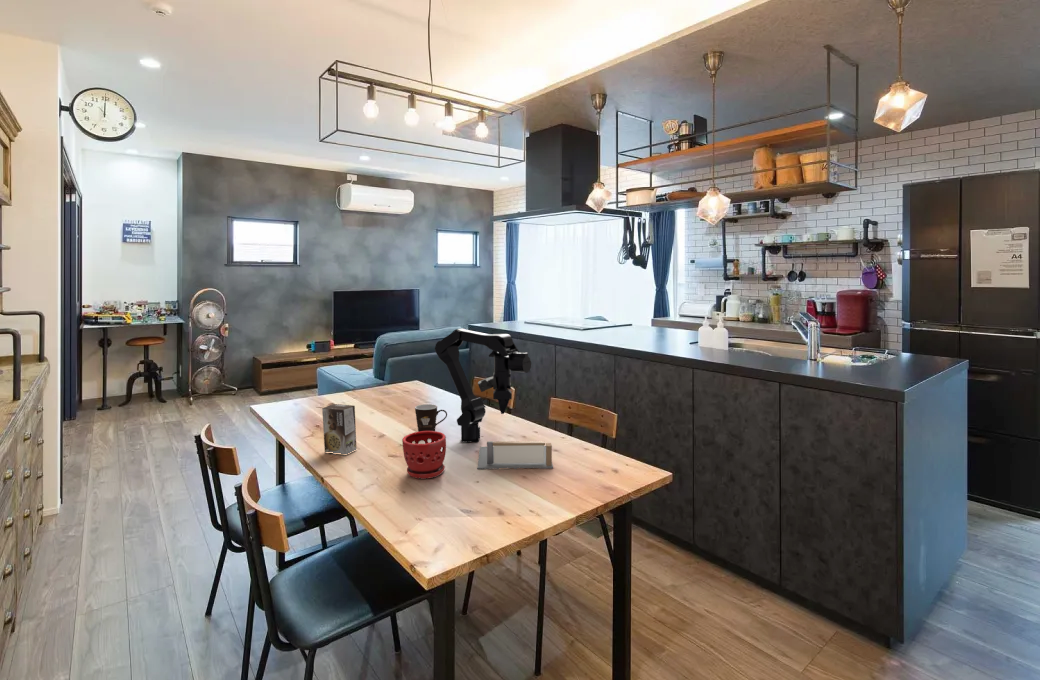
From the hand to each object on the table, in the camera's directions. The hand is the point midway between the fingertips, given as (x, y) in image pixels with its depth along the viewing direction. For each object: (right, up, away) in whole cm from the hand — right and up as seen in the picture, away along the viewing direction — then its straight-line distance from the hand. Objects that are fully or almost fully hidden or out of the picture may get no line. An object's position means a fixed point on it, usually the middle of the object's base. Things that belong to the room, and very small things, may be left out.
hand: (502, 413), depth 196 cm
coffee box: (-56, -13, -4) cm, 57 cm away
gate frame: (+4, -13, -10) cm, 17 cm away
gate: (+5, -13, -18) cm, 23 cm away
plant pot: (-23, -16, -25) cm, 37 cm away
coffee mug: (-29, -10, +18) cm, 36 cm away
